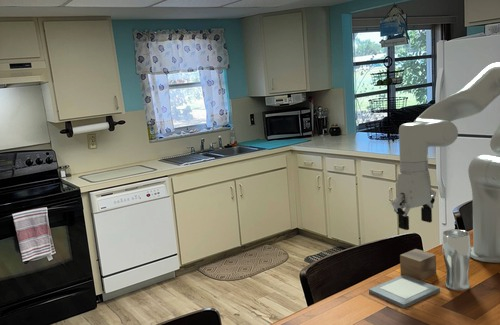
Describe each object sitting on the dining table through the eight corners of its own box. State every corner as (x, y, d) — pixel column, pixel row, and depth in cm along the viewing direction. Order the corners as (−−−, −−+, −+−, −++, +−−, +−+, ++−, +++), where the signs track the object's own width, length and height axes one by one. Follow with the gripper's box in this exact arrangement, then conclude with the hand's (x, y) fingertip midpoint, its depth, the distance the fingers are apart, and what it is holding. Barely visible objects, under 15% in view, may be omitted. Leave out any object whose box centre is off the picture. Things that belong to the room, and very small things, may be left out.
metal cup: (474, 291, 122) (473, 237, 120) (446, 291, 123) (444, 237, 121) (467, 280, 129) (466, 228, 126) (441, 280, 130) (439, 229, 128)
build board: (403, 277, 134) (403, 274, 134) (439, 291, 124) (439, 287, 124) (369, 292, 127) (368, 288, 127) (404, 308, 117) (403, 304, 117)
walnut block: (416, 267, 141) (415, 248, 140) (436, 274, 135) (435, 254, 134) (400, 274, 137) (399, 254, 136) (420, 281, 131) (419, 261, 130)
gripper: (423, 160, 138) (424, 216, 141) (382, 170, 129) (384, 229, 132) (445, 163, 132) (446, 221, 134) (403, 173, 123) (405, 235, 126)
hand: (415, 225), depth 133 cm, fingers open, 9 cm apart
